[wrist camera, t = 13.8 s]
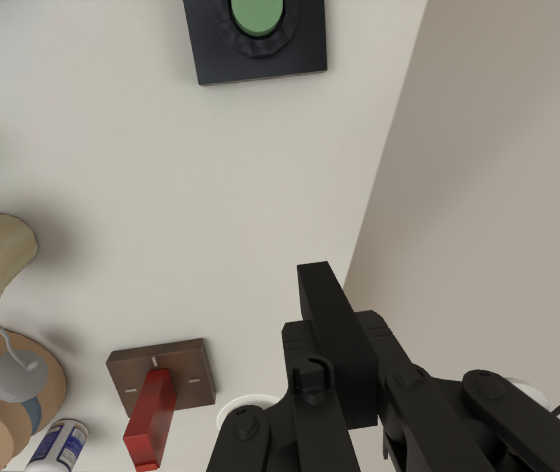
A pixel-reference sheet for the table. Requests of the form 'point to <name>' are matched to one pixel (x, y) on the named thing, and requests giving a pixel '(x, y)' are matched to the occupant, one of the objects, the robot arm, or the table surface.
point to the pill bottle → (59, 448)
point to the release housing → (256, 43)
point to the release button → (257, 15)
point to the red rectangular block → (151, 421)
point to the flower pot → (14, 248)
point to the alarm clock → (26, 392)
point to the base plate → (181, 366)
